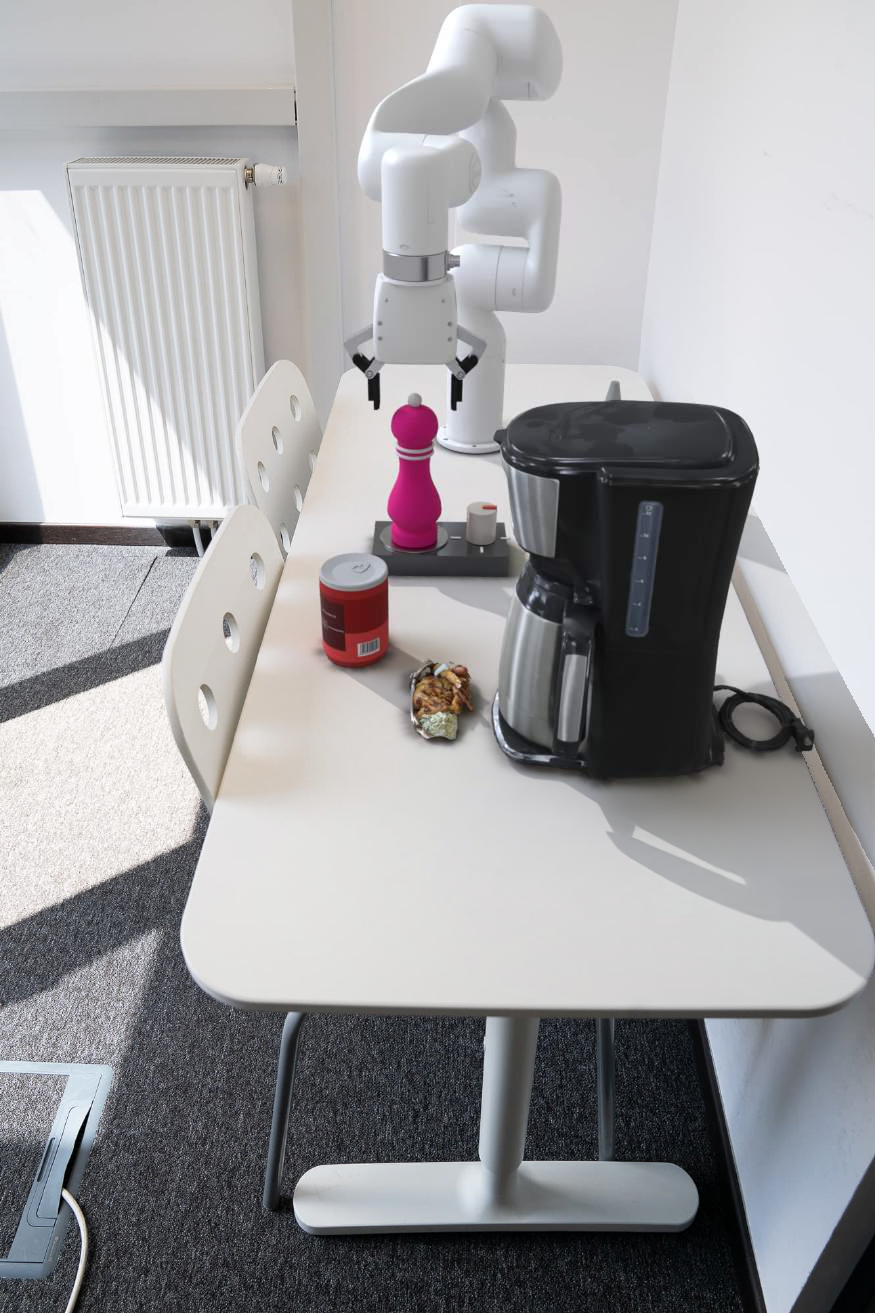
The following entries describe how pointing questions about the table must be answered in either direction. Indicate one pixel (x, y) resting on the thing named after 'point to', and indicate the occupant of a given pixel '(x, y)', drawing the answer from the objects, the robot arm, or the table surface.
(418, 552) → the burner plate
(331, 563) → the canned food
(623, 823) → the table surface
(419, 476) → the pepper mill
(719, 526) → the coffee maker
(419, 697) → the foil-wrapped kebab
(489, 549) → the hot plate
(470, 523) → the hob knob
